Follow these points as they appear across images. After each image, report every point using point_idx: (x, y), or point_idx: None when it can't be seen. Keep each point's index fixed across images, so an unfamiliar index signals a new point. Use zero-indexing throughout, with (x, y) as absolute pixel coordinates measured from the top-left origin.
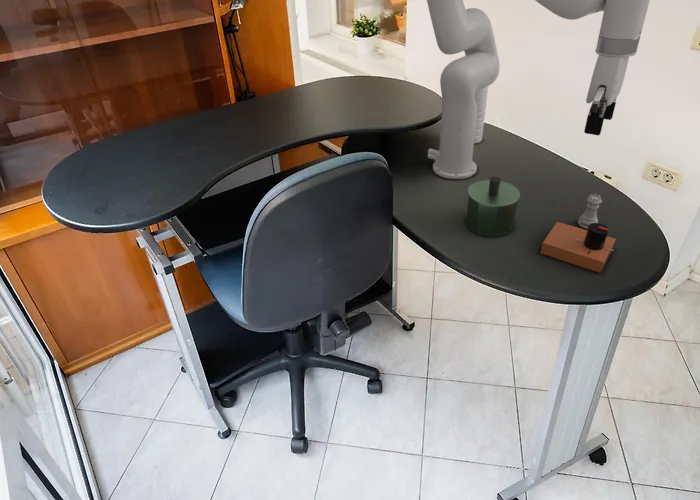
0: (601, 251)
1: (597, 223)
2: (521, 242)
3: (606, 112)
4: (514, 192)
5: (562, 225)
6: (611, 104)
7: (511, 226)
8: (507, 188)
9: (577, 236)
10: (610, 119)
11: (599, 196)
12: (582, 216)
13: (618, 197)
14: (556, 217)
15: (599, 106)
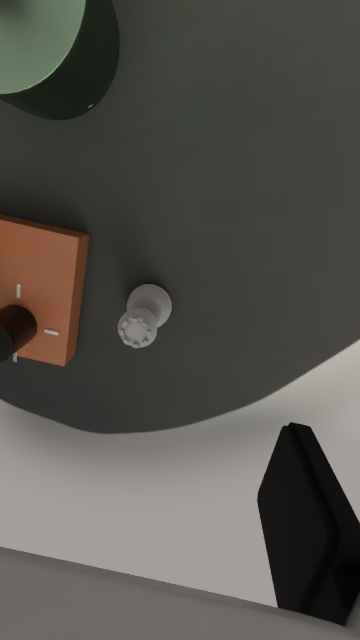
0: None
1: (8, 339)
2: (8, 158)
3: (276, 509)
4: (20, 65)
5: (65, 252)
6: (289, 603)
7: (37, 114)
8: (37, 27)
9: (33, 289)
10: (261, 497)
11: (143, 343)
12: (139, 295)
13: (304, 367)
14: (159, 231)
15: (309, 493)
